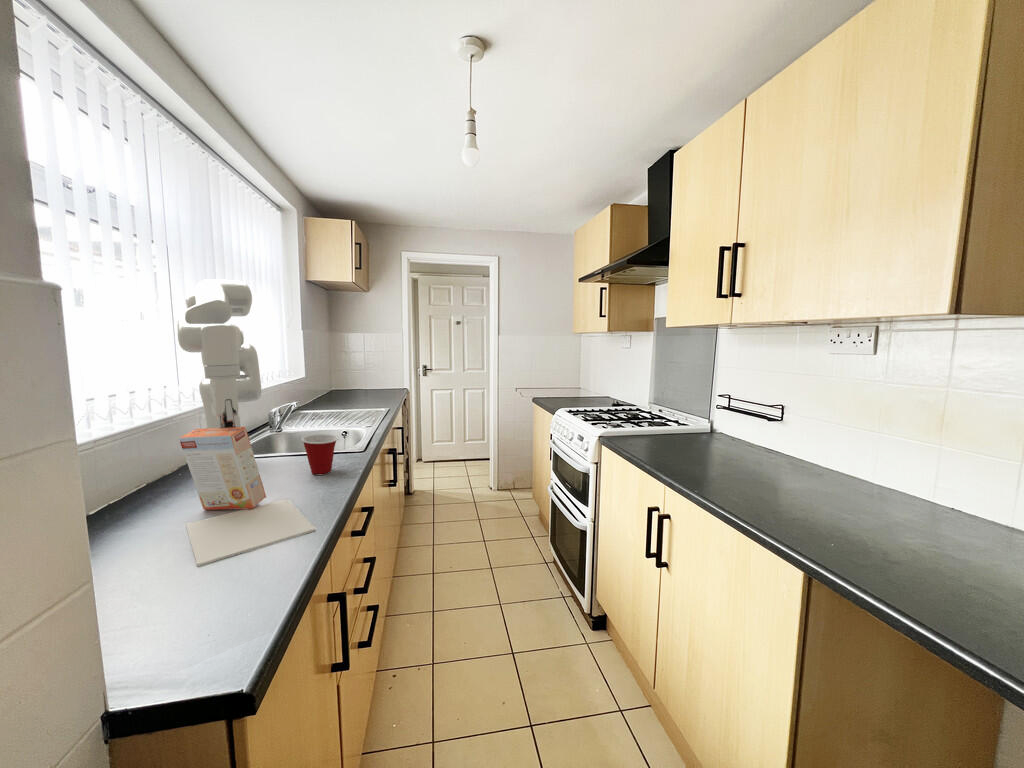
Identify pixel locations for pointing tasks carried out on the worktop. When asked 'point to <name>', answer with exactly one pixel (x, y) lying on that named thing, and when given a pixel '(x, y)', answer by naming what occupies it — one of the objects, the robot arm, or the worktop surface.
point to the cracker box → (223, 468)
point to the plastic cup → (320, 452)
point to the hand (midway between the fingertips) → (229, 441)
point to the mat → (245, 530)
